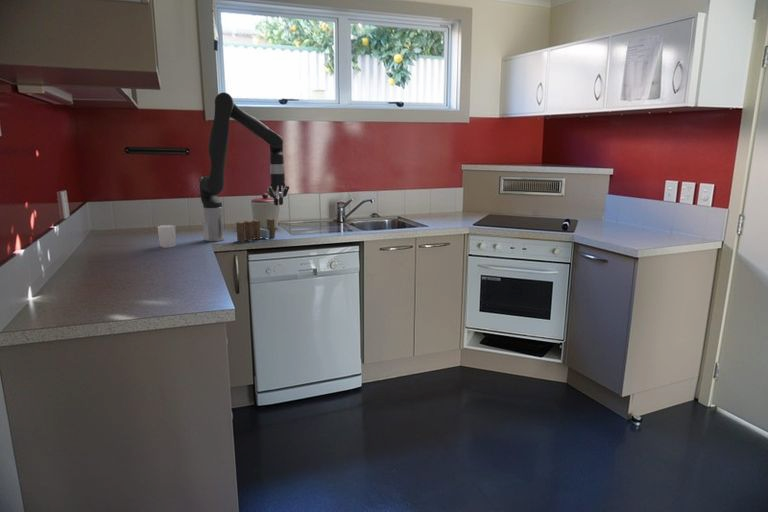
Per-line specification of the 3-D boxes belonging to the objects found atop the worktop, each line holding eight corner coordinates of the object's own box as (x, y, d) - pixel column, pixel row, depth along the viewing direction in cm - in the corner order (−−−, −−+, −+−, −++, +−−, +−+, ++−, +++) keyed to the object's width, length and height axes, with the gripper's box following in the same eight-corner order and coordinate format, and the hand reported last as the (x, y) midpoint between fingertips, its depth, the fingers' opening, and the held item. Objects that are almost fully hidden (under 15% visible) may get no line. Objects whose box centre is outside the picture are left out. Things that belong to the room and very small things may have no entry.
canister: (252, 231, 295) (250, 195, 291) (249, 227, 312) (247, 192, 307) (283, 230, 301) (282, 194, 296) (279, 225, 317) (278, 191, 313)
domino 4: (266, 230, 270) (256, 228, 277) (267, 239, 271) (256, 237, 278) (269, 230, 271) (259, 228, 278) (269, 239, 272) (259, 237, 279)
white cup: (172, 244, 256) (171, 224, 254) (179, 246, 251) (177, 226, 249) (156, 246, 251) (154, 226, 249) (163, 248, 246) (161, 228, 243)
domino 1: (242, 242, 263) (241, 223, 261) (237, 240, 267) (236, 221, 265) (245, 241, 264) (244, 222, 262) (240, 240, 268) (239, 221, 266)
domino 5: (272, 238, 276) (271, 219, 273) (267, 236, 279) (266, 218, 277) (274, 237, 277) (274, 219, 275) (269, 236, 280) (269, 218, 278)
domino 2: (250, 241, 266) (249, 222, 264) (245, 239, 270) (244, 221, 268) (252, 240, 267) (251, 221, 265) (247, 239, 271) (246, 220, 269)
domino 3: (257, 240, 269) (256, 221, 267) (252, 238, 273) (251, 220, 271) (260, 239, 270) (259, 220, 268) (255, 238, 274) (254, 219, 272)
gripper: (284, 172, 282) (285, 203, 285) (262, 173, 272) (263, 205, 276) (292, 172, 277) (293, 204, 280) (270, 173, 267) (271, 206, 271)
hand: (278, 204), depth 278 cm, fingers closed
